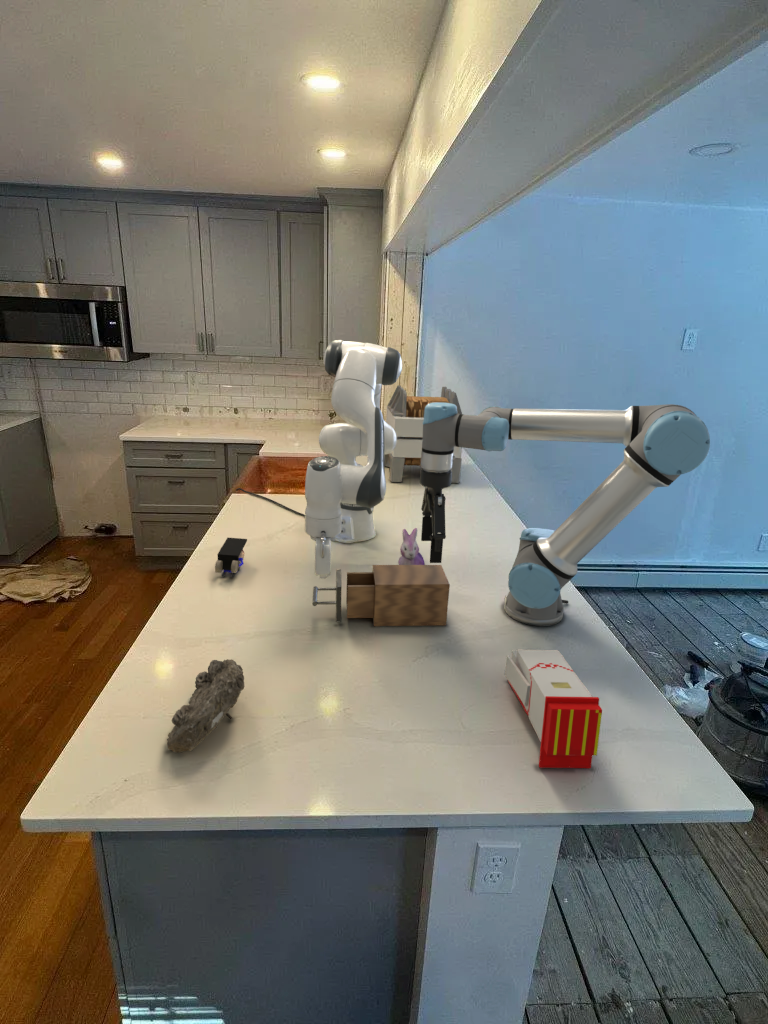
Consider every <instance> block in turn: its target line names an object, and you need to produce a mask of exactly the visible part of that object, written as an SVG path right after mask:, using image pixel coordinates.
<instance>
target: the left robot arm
mask: <svg viewBox="0 0 768 1024" xmlns="http://www.w3.org/2000/svg"><path fill="white" fill-rule="evenodd" d="M323 365H324V371H325V372H326V373H327V374H328V375H329V376H330V377H332V378H334V381H333V385H332V390H331V397H330V398H331V399H330V402H331V407H332V409H333V411H334V413H335V414H336V415H337V416H338V417H339V418H340V419H341V420H343V421H344V422H335V423H330V424H326V425H323V427H322V429H321V430H320V432H319V435H318V445H319V447H320V450H321V451H322V452H323V453H324V454H325V455H321V456H316V457H314V458H312V459H311V460H309V461H308V464H307V466H306V467H307V468H306V472H305V479H304V481H305V482H304V498H305V501H306V506H305V510H304V513H302V512H299V511H296V510H295V509H293V508H291V507H288V506H285V505H283V504H282V503H279V502H278V501H275V500H273V499H271V498H268V497H266V496H263V495H260V494H257V493H255V492H251V491H248V490H245V489H243V488H240V487H238V488H236V489H235V491H236V492H237V491H241V492H243V493H246V494H248V495H253V496H256V497H258V498H261V499H264V500H266V501H269V502H271V503H274V504H276V505H278V506H279V507H282V508H284V509H285V510H288V511H290V512H292V513H294V514H297V515H299V516H302V517H304V532H305V533H306V534H307V535H308V536H310V539H311V540H312V541H314V574H315V576H318V577H319V579H322V580H323V579H324V580H325V579H327V578H328V577H329V576H330V575H331V573H332V541H336V542H339V543H343V544H352V543H357V542H365V541H368V540H372V539H373V538H375V537H376V535H377V532H376V528H375V523H374V513H373V512H374V509H375V507H376V506H378V505H379V504H381V503H382V502H383V501H384V499H385V496H386V493H387V481H386V472H385V466H384V455H386V454H390V453H391V452H392V451H393V450H394V448H395V446H396V443H397V436H396V433H395V431H394V429H393V428H392V427H391V426H390V425H389V424H387V423H386V420H385V419H384V415H383V412H382V410H381V394H382V386H392V385H394V384H395V383H397V380H398V379H399V378H400V376H401V373H402V371H403V361H402V357H401V354H400V352H399V350H397V349H395V348H393V347H390V346H388V347H386V346H383V345H380V344H375V343H371V342H361V341H351V340H350V341H348V340H347V341H346V340H345V341H344V339H335V340H331V342H329V343H328V344H327V347H326V349H325V351H324V354H323ZM358 457H367V461H366V462H367V463H366V464H365V465H362V464H360V463H359V462H357V460H356V459H357V458H358Z"/></svg>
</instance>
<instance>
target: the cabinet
mask: <svg viewBox="0 0 768 1024" xmlns="http://www.w3.org/2000/svg"><path fill="white" fill-rule="evenodd" d="M371 566H372V567H371V569H372V570H371V572H373V576H374V582H375V603H374V618H372V622H373V626H374V627H418V626H419V627H420V626H421V627H423V626H433V627H434V626H447V618H448V609H449V607H448V605H449V597H450V586H451V585H450V582H449V579H448V577H447V574H446V573H445V570H444V568H443V565H442V564H425V565H399V564H372V565H371Z"/></svg>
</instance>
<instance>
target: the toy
mask: <svg viewBox="0 0 768 1024" xmlns="http://www.w3.org/2000/svg"><path fill="white" fill-rule="evenodd" d="M505 659H506V660H505V667H504V676H505V677H506V679H507V682H508V684H509V686H510V688H511V689H512V691H513V693H514V694H515V696H516V698H517V700H518V701H519V703H520V705H521V707H522V708H523V710H524V712H525V714H526V715H527V716H528V719H529V722H530V724H531V725H532V727H533V730H534V731H535V733H536V736H537V738H538V740H539V742H540V750H539V757H538V767H539V768H541V769H543V768H546V769H547V768H548V769H551V768H552V769H591V768H592V762H593V756H597V755H598V749H599V740H600V733H601V732H600V731H601V724H602V714H603V709H602V707H601V705H599V703H600V698H599V697H598V696H593V695H592V694H591V692H590V691H589V689H587V687H586V686H585V684H584V683H583V682H582V680H581V679H580V678H579V676H578V675H577V673H576V672H575V671H574V670H573V668H572V667H571V666H570V664H569V663H568V661H567V660H566V658H565V657H564V655H562V653H561V652H560V651H559V650H558V649H521V648H520V649H519V648H517V649H512V650H511V655H506V658H505Z"/></svg>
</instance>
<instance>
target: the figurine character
mask: <svg viewBox="0 0 768 1024" xmlns="http://www.w3.org/2000/svg"><path fill="white" fill-rule="evenodd" d="M247 542H248V538H240V537H226V539H225V541H224V543H223V544H222V546H221V547H220V549H219V551H218V552H217V560H216V562H215V564H214V572H215V573H221V577H222V578H224V577H225V576H226V574H227V573H230V574H231V573H232V574H231V578H234V577H235V575H236V573H237V572H239V571H240V567H242V566H243V565H244V564H245V562H244V558H245V551H244V547H245V546H246V544H247Z"/></svg>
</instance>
